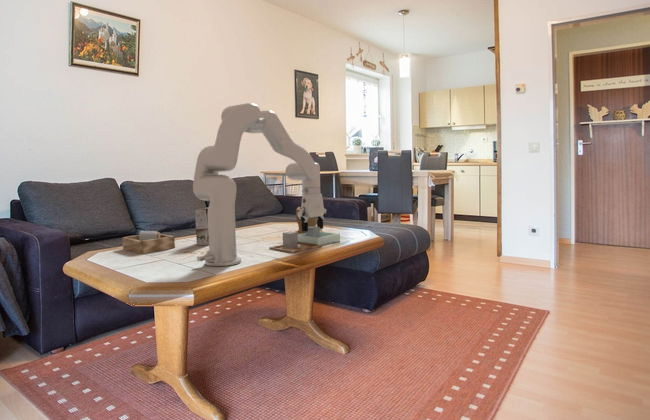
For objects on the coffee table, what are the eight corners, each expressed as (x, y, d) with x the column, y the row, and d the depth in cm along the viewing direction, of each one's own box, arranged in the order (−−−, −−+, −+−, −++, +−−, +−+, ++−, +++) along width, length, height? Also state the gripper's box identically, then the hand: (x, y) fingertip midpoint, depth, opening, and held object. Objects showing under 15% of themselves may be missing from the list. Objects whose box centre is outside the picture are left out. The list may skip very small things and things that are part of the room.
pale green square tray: (318, 247, 182) (317, 238, 182) (295, 244, 192) (294, 235, 192) (340, 242, 193) (339, 233, 192) (317, 239, 202) (316, 230, 202)
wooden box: (140, 253, 178) (139, 241, 177) (122, 248, 189) (121, 237, 189) (175, 247, 189) (175, 236, 188) (156, 243, 201) (156, 232, 200)
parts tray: (293, 255, 168) (292, 251, 168) (269, 251, 178) (269, 247, 177) (321, 248, 180) (321, 245, 180) (298, 245, 189) (297, 241, 189)
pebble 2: (313, 241, 191) (312, 228, 190) (306, 240, 194) (305, 227, 193) (320, 240, 194) (319, 226, 194) (312, 239, 197) (312, 226, 197)
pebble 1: (290, 248, 178) (289, 233, 178) (283, 247, 181) (282, 232, 181) (298, 246, 181) (297, 232, 181) (290, 245, 184) (290, 231, 184)
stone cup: (299, 239, 204) (298, 207, 203) (290, 235, 215) (289, 205, 213) (328, 236, 210) (328, 205, 209) (319, 233, 221) (318, 203, 219)
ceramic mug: (159, 249, 188) (158, 231, 187) (139, 250, 186) (137, 232, 185) (162, 245, 198) (161, 228, 197) (143, 246, 196) (142, 229, 195)
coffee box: (210, 245, 194) (208, 208, 192) (196, 245, 194) (194, 209, 192) (216, 241, 203) (214, 206, 201) (202, 241, 203) (200, 207, 201)
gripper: (303, 192, 183) (304, 233, 185) (331, 190, 196) (332, 228, 197) (291, 192, 188) (292, 231, 190) (319, 189, 201) (320, 226, 202)
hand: (312, 229), depth 194 cm, fingers open, 9 cm apart
